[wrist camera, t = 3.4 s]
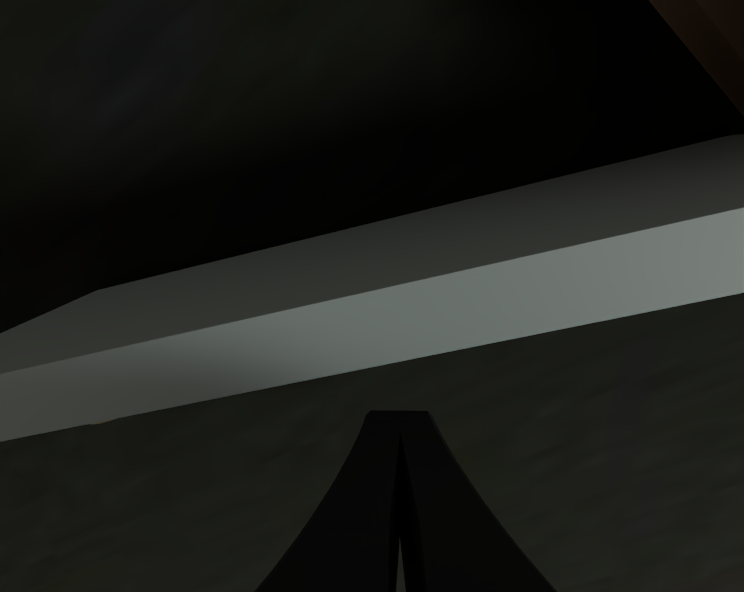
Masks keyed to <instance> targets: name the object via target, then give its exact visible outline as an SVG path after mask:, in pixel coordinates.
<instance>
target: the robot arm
mask: <svg viewBox="0 0 744 592" xmlns="http://www.w3.org/2000/svg"><path fill="white" fill-rule="evenodd" d="M399 538H400V541H401V551H402V560H403V569H404V578H405V587H406V592H557V591H556V590H555V589H554V588H553V587H552V585H551V584H550V583H549V582H548V581H547V580H546V579H545V577H544V576H543V575H542V574H541V573H540V572H539V570H538V569H537V568H536V567H535V566H534V565H533V563H532V562H531V561H530V560H529V559H528V558H527V556H526V555H525V554H524V553H523V552H522V550H521V549H520V548H519V547H518V545H517V544H516V543H515V542H514V540H513V539H512V538H511V537H510V535H509V534H508V533H507V532H506V530H505V529H504V528H503V526H502V525H501V524H500V522H499V521H498V520H497V518H496V517H495V516H494V515H493V513H492V512H491V511H490V509H489V508H488V507H487V505H486V504H485V502H484V501H483V500H482V498H481V497H480V495H479V494H478V492H477V491H476V490H475V488H474V487H473V485H472V484H471V482H470V481H469V479H468V478H467V476H466V475H465V473H464V472H463V470H462V469H461V467H460V466H459V464H458V462H457V461H456V459H455V457H454V456H453V454H452V453H451V451H450V449H449V447H448V446H447V444H446V442H445V440H444V439H443V437H442V435H441V433H440V431H439V429H438V427H437V425H436V423H435V421H434V419H433V416H432V415H431V414H430V413H429V412H428V411H370V412H369V413H368V414H366V416H365V420H364V423H363V425H362V428H361V430H360V433H359V435H358V437H357V439H356V441H355V444H354V446H353V448H352V450H351V452H350V454H349V455H348V457H347V459H346V461H345V463H344V464H343V466H342V468H341V470H340V472H339V473H338V475H337V477H336V479H335V481H334V482H333V484H332V486H331V487H330V489H329V490H328V492H327V493H326V495H325V496H324V498H323V500H322V501H321V503H320V504H319V506H318V507H317V509H316V510H315V512H314V513H313V515H312V517H311V518H310V520H309V521H308V523H307V524H306V525H305V527H304V528H303V530H302V531H301V532H300V534H299V535H298V537H297V538H296V539H295V541H294V542H293V544H292V545H291V546H290V548H289V549H288V550H287V552H286V553H285V554H284V555H283V557H282V558H281V559H280V561H279V562H278V563H277V565H276V566H275V567H274V568H273V570H272V571H271V572H270V573H269V575H268V576H267V577H266V578H265V580H264V581H263V582H262V583H261V584H260V586H259V587H258V588H257V589H256V590H255V592H396V584H397V569H398V554H399Z"/></svg>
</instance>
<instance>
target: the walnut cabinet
mask: <svg viewBox="0 0 744 592" xmlns="http://www.w3.org/2000/svg"><path fill="white" fill-rule="evenodd" d="M649 1H650V3H651V4H652V5H653V6H654V8H655V9H656V10H657V11H658V13H659V14H660V15H661V16H662V17H663V19H664V20H665V21H666V22H667V24H668V25H669V26H670V27H671V28H672V30H673V31H674V32H675V33H676V35H677V36H678V37H679V38H680V39H681V41H682V42H683V43H684V44H685V46H686V47H687V48H688V49H689V50H690V52H691V53H692V54H693V55H694V57H695V58H696V59H697V60H698V62H699V63H700V64H701V65H702V66H703V68H704V69H705V70H706V71H707V73H708V74H709V75H710V76H711V77H712V79H713V80H714V81H715V82H716V84H717V85H718V86H719V87H720V88H721V90H722V91H723V92H724V93H725V95H726V96H727V97H728V98H729V100H730V101H731V102H732V103H733V104H734V106H735V107H736V108H737V109H738V111H739V112H740V113H741V114H742V115H743V117H744V0H649Z"/></svg>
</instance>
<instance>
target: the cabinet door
mask: <svg viewBox="0 0 744 592" xmlns="http://www.w3.org/2000/svg"><path fill="white" fill-rule="evenodd" d="M739 293H744V134H733V135H729V136H724V137H720V138H716V139H712V140H708V141H704V142H700V143H696V144H692V145H688V146H684V147H679V148H675V149H671V150H667V151H663V152H659V153H655V154H651V155H647V156H643V157H639V158H635V159H630V160H626V161H622V162H618V163H614V164H610V165H606V166H602V167H598V168H594V169H590V170H586V171H582V172H577V173H573V174H569V175H565V176H561V177H557V178H553V179H549V180H545V181H541V182H537V183H533V184H529V185H524V186H520V187H516V188H512V189H508V190H504V191H500V192H496V193H492V194H488V195H484V196H480V197H476V198H471V199H467V200H463V201H459V202H455V203H451V204H447V205H443V206H439V207H435V208H431V209H427V210H422V211H418V212H414V213H410V214H406V215H402V216H398V217H394V218H390V219H386V220H382V221H378V222H374V223H369V224H365V225H361V226H357V227H353V228H349V229H345V230H341V231H337V232H333V233H329V234H325V235H321V236H316V237H312V238H308V239H304V240H300V241H296V242H292V243H288V244H284V245H280V246H276V247H272V248H268V249H263V250H259V251H255V252H251V253H247V254H243V255H239V256H235V257H231V258H227V259H223V260H219V261H215V262H210V263H206V264H202V265H198V266H194V267H190V268H186V269H182V270H178V271H174V272H170V273H166V274H161V275H157V276H153V277H149V278H145V279H141V280H137V281H133V282H129V283H125V284H121V285H117V286H113V287H108V288H104V289H100V290H97V291H94V292H92V293H90V294H88V295H85V296H83V297H81V298H79V299H76V300H74V301H72V302H70V303H68V304H65V305H63V306H61V307H59V308H56V309H54V310H52V311H50V312H47V313H45V314H43V315H41V316H38V317H36V318H34V319H32V320H29V321H27V322H25V323H23V324H20V325H18V326H16V327H14V328H11V329H9V330H7V331H5V332H2V333H0V441H5V440H10V439H15V438H20V437H25V436H30V435H35V434H40V433H45V432H50V431H55V430H60V429H65V428H70V427H75V426H80V425H85V424H99V423H104V422H107V421H110V420H113V419H116V418H120V417H125V416H130V415H135V414H140V413H145V412H150V411H155V410H160V409H165V408H170V407H175V406H180V405H185V404H190V403H195V402H200V401H205V400H210V399H215V398H220V397H225V396H230V395H235V394H240V393H245V392H250V391H255V390H260V389H265V388H270V387H275V386H280V385H285V384H290V383H295V382H300V381H305V380H310V379H315V378H320V377H325V376H330V375H335V374H340V373H345V372H350V371H355V370H360V369H365V368H370V367H375V366H380V365H385V364H390V363H395V362H400V361H405V360H410V359H415V358H420V357H425V356H430V355H435V354H440V353H444V352H449V351H454V350H459V349H464V348H469V347H474V346H479V345H484V344H489V343H494V342H499V341H504V340H509V339H514V338H519V337H524V336H529V335H534V334H539V333H544V332H549V331H554V330H559V329H564V328H569V327H574V326H579V325H584V324H589V323H594V322H599V321H604V320H609V319H614V318H619V317H624V316H629V315H634V314H639V313H644V312H649V311H654V310H659V309H664V308H669V307H674V306H679V305H684V304H689V303H694V302H699V301H704V300H709V299H714V298H719V297H724V296H729V295H734V294H739Z"/></svg>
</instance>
